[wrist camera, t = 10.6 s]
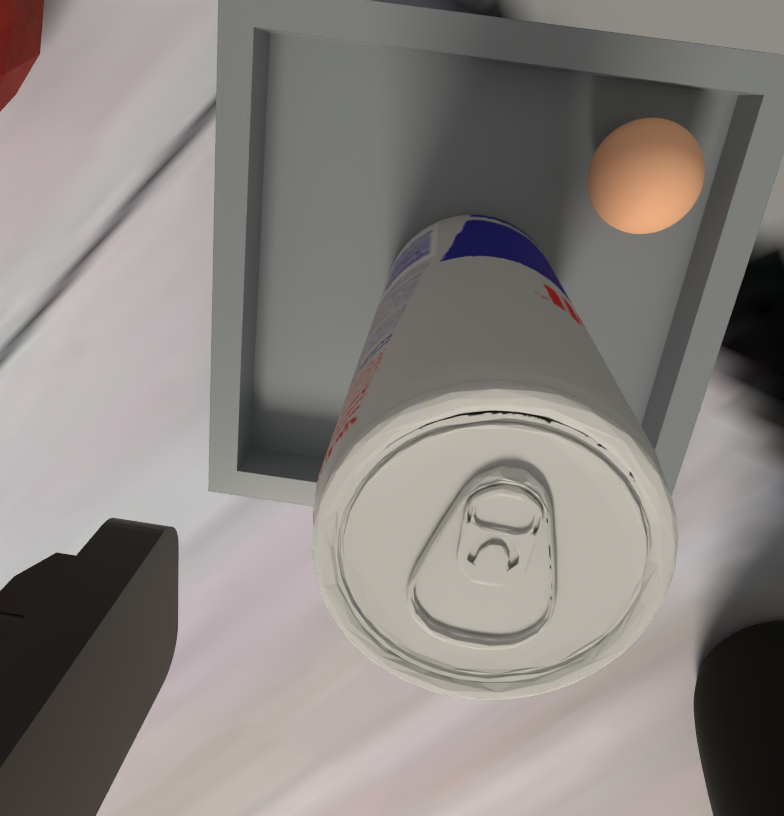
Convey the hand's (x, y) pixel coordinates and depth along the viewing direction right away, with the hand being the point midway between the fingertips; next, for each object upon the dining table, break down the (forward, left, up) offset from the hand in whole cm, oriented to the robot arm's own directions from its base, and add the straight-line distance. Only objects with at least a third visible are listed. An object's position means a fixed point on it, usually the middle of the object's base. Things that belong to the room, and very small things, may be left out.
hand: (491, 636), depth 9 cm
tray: (0, 0, -17) cm, 17 cm away
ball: (-4, -5, -17) cm, 18 cm away
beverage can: (0, 0, -17) cm, 17 cm away
